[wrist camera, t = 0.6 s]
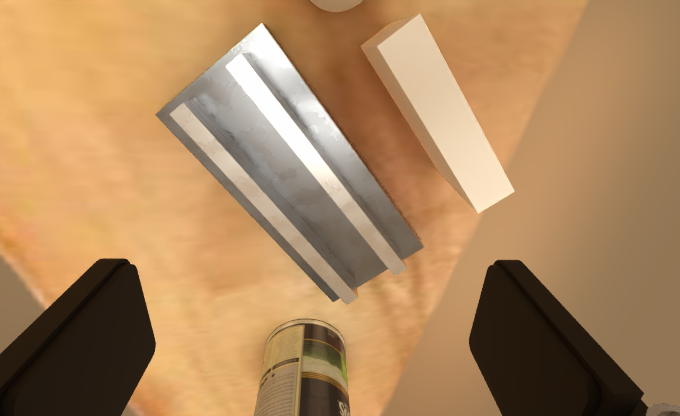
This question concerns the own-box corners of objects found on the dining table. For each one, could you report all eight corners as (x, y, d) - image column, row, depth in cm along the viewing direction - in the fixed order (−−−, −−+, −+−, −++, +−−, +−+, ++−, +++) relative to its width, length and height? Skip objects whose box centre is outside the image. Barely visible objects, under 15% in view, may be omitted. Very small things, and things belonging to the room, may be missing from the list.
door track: (264, 24, 28) (255, 20, 24) (420, 240, 38) (432, 263, 34) (162, 111, 31) (138, 121, 27) (332, 293, 41) (334, 320, 37)
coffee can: (346, 316, 42) (357, 432, 30) (344, 375, 47) (353, 498, 34) (261, 318, 42) (236, 438, 29) (267, 378, 46) (248, 504, 33)
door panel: (391, 21, 29) (424, 9, 20) (466, 151, 34) (518, 189, 25) (359, 46, 30) (376, 46, 21) (437, 170, 35) (478, 213, 26)
